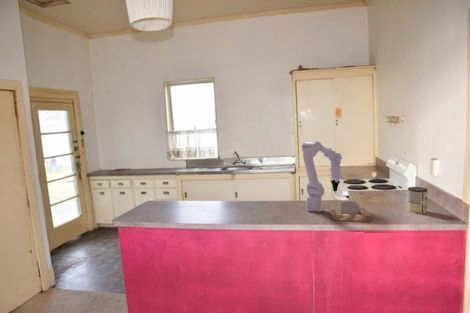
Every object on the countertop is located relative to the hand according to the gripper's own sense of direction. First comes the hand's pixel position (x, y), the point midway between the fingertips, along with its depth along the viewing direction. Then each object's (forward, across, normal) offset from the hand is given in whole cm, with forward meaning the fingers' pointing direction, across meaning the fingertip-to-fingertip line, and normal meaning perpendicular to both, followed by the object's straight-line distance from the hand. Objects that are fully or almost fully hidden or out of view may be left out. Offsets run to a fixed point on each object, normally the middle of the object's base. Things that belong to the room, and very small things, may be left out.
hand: (335, 190), depth 210 cm
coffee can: (+10, -13, -46) cm, 49 cm away
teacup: (+10, -25, -4) cm, 27 cm away
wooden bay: (+9, -26, -4) cm, 28 cm away
